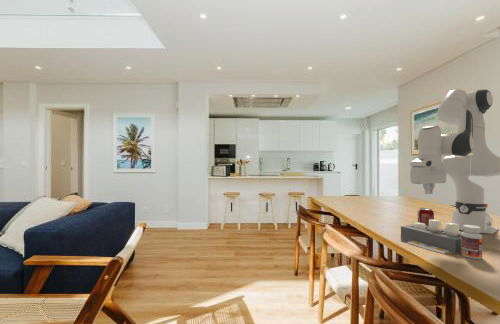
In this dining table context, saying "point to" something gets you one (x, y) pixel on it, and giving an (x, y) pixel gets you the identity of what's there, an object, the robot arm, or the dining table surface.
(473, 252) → the pill bottle
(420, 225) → the cream oval piece
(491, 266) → the dining table surface
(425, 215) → the soda can
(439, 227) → the cream white egg
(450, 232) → the button
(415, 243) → the card
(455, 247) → the grey egg tray
